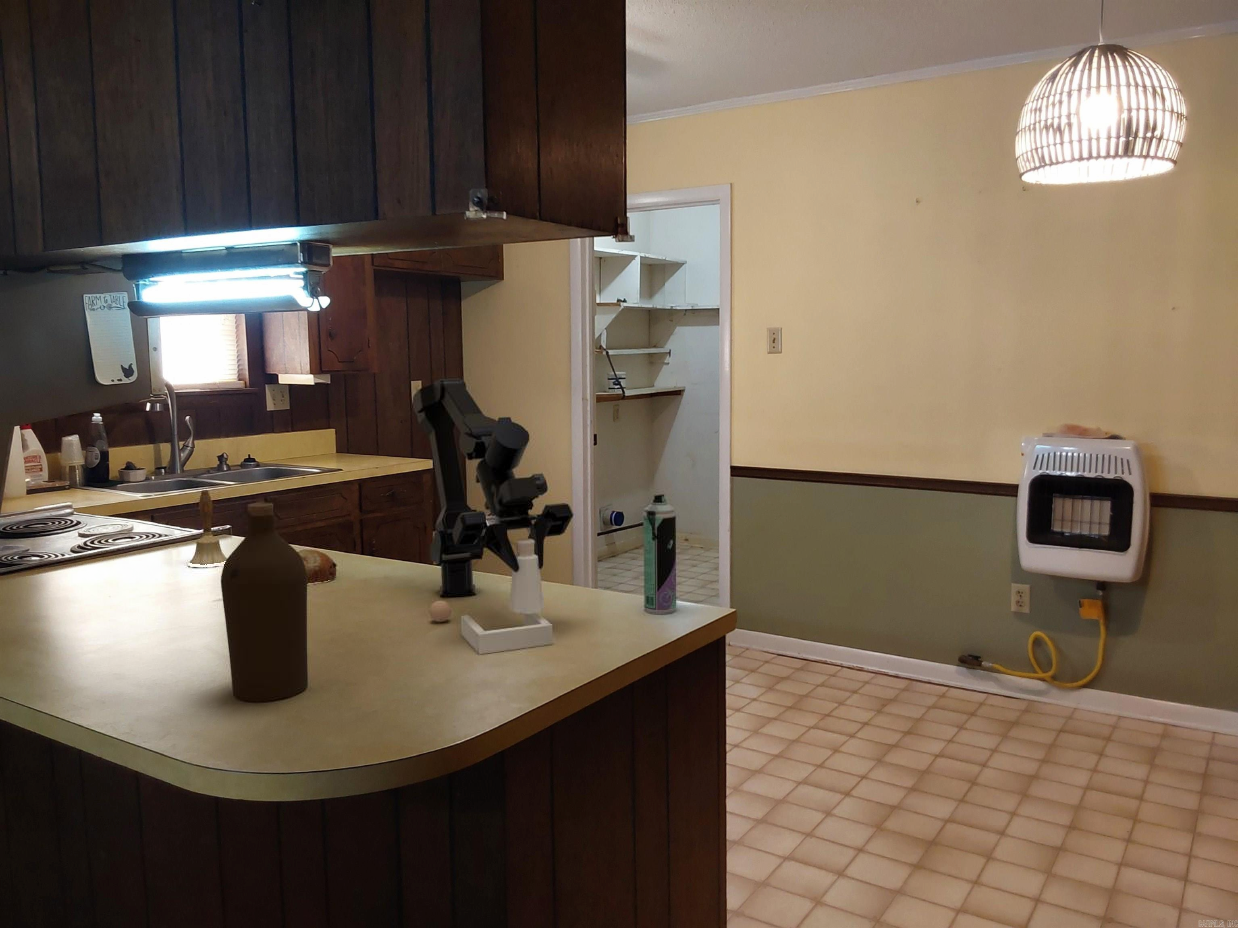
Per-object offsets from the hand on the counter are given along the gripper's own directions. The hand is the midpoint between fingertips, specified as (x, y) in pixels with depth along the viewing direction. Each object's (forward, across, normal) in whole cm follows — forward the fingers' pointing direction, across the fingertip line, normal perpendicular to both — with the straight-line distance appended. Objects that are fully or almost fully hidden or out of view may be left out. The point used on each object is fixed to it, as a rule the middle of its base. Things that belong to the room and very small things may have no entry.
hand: (529, 568), depth 147 cm
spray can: (+6, +26, +11) cm, 28 cm away
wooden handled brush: (-51, -37, +69) cm, 94 cm away
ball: (-4, -9, +20) cm, 22 cm away
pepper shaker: (+4, 0, +6) cm, 7 cm away
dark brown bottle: (+10, -39, +6) cm, 40 cm away
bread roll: (-33, -21, +50) cm, 64 cm away
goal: (+6, -3, +9) cm, 12 cm away
